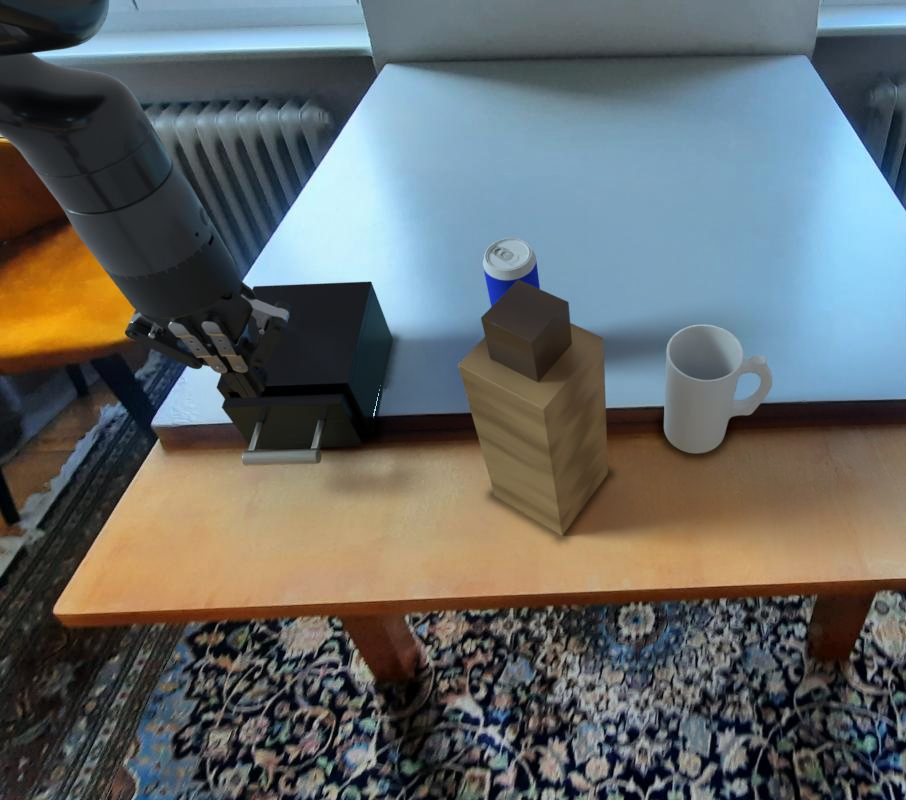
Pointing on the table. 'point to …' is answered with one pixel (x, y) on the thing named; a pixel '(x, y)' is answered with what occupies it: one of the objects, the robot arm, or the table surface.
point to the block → (527, 330)
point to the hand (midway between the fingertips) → (255, 389)
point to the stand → (542, 429)
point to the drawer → (293, 425)
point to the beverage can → (509, 266)
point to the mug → (707, 386)
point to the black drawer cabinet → (328, 344)
